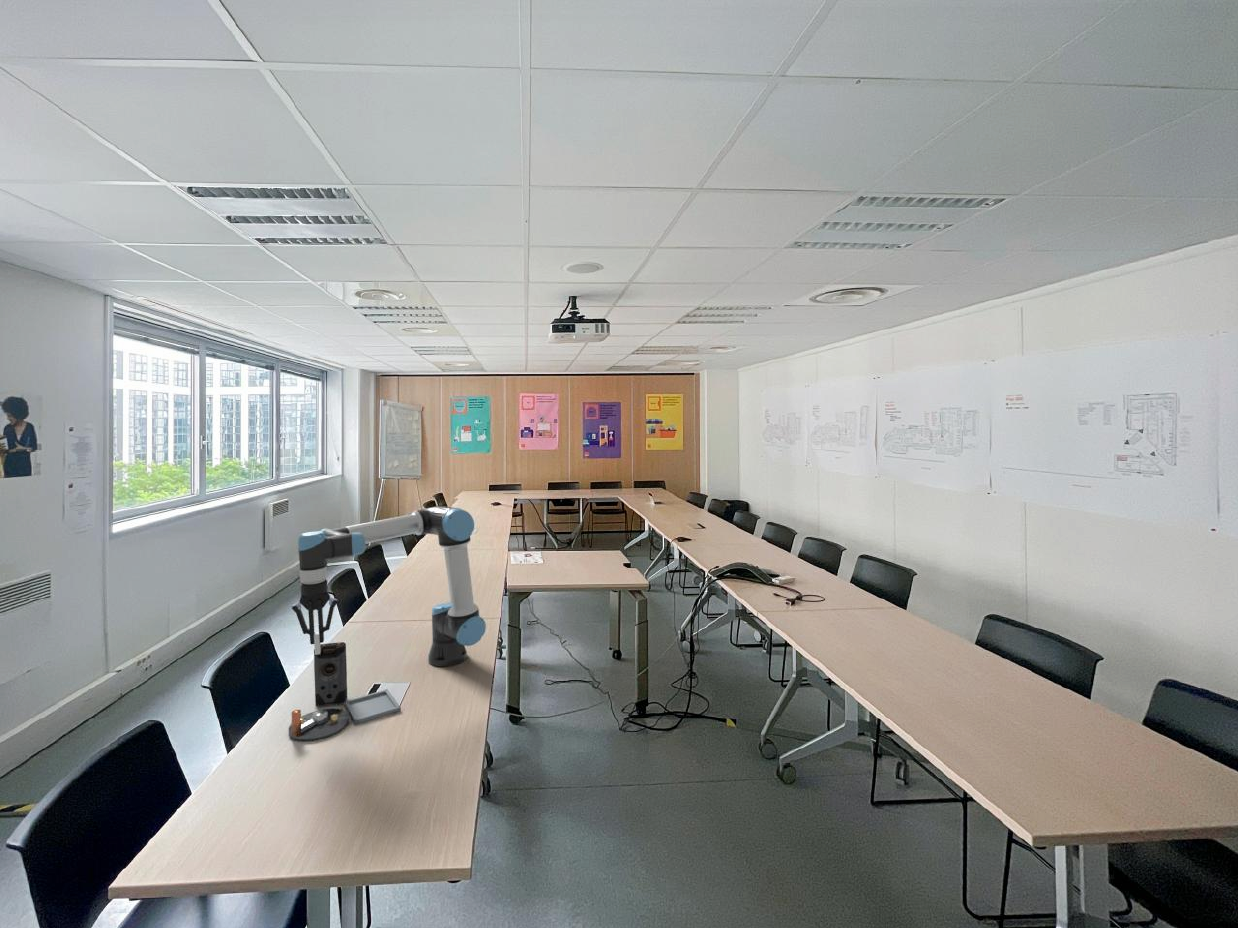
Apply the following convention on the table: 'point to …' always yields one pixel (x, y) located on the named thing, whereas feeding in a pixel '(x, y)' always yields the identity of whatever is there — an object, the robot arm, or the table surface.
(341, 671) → the electronic device
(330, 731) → the crank base
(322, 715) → the crank
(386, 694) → the tray
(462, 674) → the table surface
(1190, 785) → the table surface
